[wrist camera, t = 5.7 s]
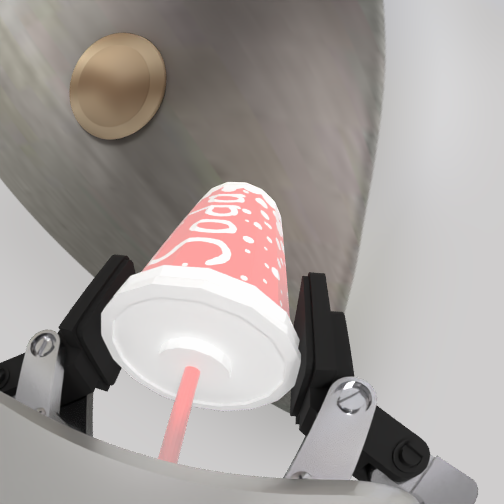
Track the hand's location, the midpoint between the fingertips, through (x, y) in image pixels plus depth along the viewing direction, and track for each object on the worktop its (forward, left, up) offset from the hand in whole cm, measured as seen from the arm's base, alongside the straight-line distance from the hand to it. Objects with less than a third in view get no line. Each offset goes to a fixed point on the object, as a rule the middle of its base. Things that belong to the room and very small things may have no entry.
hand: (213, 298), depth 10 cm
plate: (-8, -14, -18) cm, 24 cm away
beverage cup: (0, 0, -6) cm, 6 cm away
